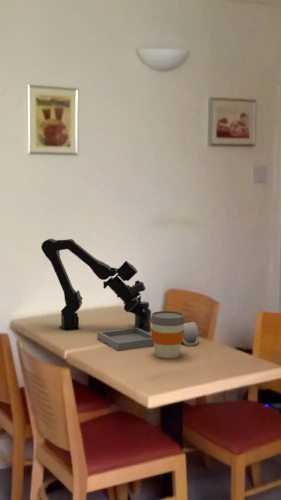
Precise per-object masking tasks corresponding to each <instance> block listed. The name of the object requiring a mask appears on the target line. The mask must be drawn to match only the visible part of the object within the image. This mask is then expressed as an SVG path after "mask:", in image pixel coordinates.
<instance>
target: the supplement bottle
mask: <svg viewBox="0 0 281 500" xmlns="http://www.w3.org/2000/svg"><path fill="white" fill-rule="evenodd" d="M139 306H140V307H141V309H142V310H143V312H144V313H145V314H146V318H143V317H141V316H138V315H136V314H134V328H136V327H137V328H139V329H142V330H144V331H146V332H148V331H149V332H150V331H151V329H152V323H151V316H152V310H151V308H149V307H150V302H148V301H141V302H139ZM149 332H148V333H149Z"/></svg>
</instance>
